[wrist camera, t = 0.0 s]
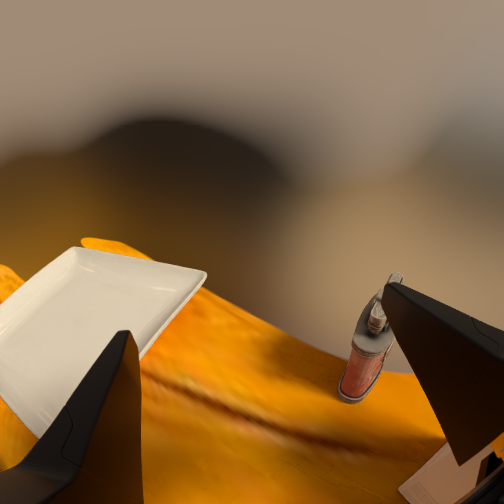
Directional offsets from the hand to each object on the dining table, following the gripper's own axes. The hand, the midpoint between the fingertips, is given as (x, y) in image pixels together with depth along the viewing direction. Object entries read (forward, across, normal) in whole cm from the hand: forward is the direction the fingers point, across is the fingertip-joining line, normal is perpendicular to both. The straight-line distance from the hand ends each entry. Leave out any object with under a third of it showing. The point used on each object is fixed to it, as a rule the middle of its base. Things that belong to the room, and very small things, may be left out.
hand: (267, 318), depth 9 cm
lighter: (+7, -11, +17) cm, 21 cm away
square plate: (+19, +20, +17) cm, 32 cm away
